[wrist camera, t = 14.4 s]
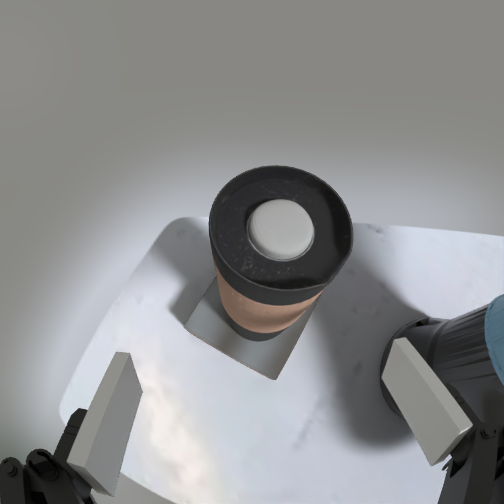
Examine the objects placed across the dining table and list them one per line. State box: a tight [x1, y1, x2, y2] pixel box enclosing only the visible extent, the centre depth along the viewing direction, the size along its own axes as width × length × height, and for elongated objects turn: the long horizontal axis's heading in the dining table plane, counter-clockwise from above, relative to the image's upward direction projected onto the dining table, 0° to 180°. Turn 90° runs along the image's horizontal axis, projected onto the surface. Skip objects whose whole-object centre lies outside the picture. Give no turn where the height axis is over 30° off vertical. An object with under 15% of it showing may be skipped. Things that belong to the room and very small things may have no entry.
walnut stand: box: [184, 276, 322, 380], centre depth 34 cm, size 12×12×4 cm
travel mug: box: [209, 165, 353, 342], centre depth 23 cm, size 8×8×20 cm
